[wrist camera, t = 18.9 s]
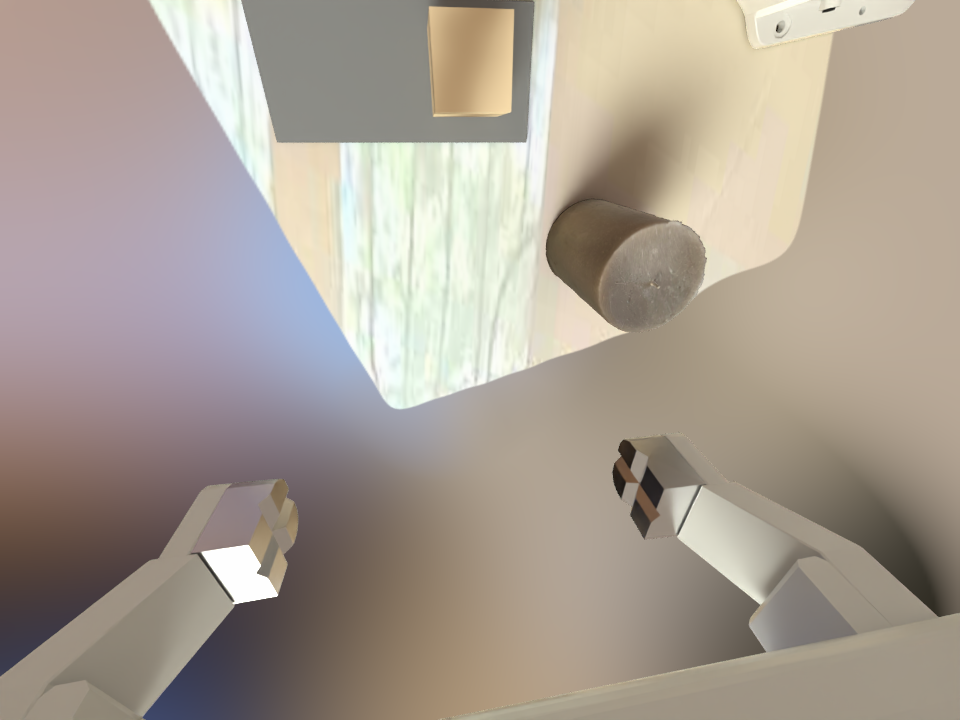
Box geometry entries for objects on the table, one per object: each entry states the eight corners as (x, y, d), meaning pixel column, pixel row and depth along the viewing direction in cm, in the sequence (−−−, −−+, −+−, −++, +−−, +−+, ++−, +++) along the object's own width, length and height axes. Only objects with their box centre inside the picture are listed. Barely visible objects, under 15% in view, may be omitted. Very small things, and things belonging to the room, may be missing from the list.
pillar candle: (541, 284, 43) (594, 344, 31) (551, 196, 38) (620, 224, 26) (615, 282, 45) (695, 337, 32) (635, 197, 40) (739, 223, 27)
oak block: (428, 6, 25) (427, 29, 30) (435, 112, 28) (432, 117, 33) (514, 9, 25) (497, 31, 30) (511, 112, 28) (497, 116, 34)
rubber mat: (533, 3, 30) (534, 1, 30) (525, 142, 35) (526, 142, 35) (239, -12, 27) (238, -13, 27) (278, 142, 32) (277, 142, 32)
